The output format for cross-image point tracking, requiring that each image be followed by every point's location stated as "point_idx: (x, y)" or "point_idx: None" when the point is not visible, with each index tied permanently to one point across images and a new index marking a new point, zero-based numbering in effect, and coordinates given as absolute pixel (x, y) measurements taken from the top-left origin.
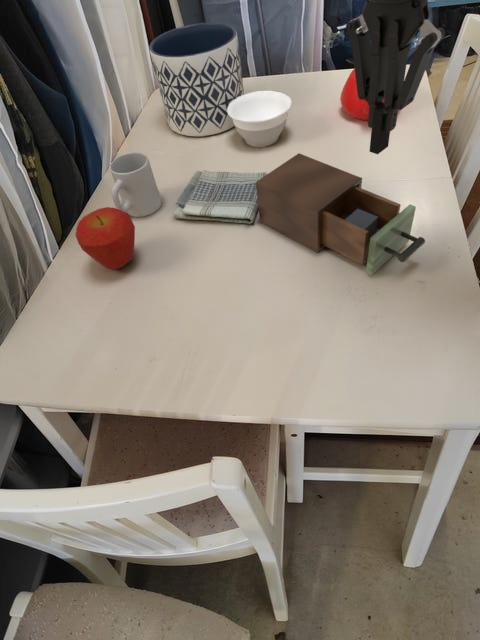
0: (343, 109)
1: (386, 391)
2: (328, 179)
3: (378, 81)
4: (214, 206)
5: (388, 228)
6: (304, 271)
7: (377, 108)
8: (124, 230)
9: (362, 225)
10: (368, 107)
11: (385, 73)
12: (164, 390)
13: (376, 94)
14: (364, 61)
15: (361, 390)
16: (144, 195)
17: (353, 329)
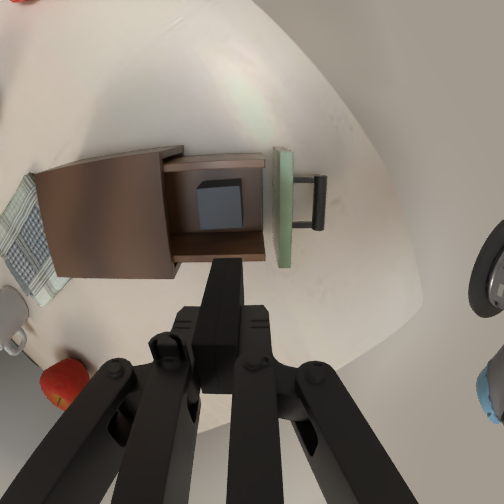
0: (20, 1)
1: (366, 331)
2: (116, 198)
3: (188, 469)
4: (48, 279)
5: (288, 233)
6: (205, 278)
7: (210, 388)
8: (75, 395)
9: (233, 221)
10: None
11: (175, 465)
12: (226, 413)
13: (195, 430)
14: (88, 495)
15: (349, 343)
16: (15, 322)
17: (310, 306)
